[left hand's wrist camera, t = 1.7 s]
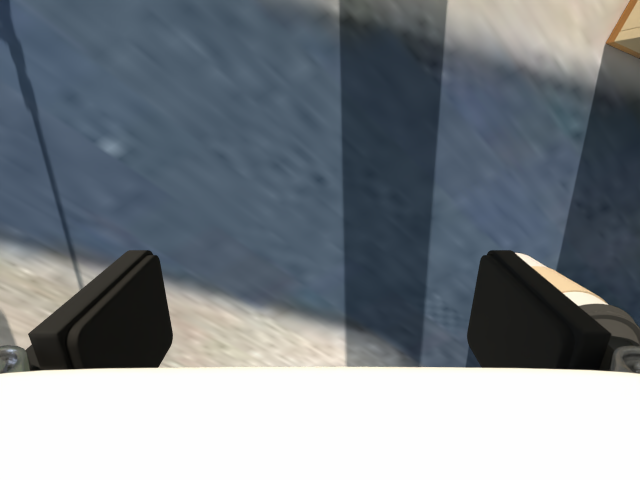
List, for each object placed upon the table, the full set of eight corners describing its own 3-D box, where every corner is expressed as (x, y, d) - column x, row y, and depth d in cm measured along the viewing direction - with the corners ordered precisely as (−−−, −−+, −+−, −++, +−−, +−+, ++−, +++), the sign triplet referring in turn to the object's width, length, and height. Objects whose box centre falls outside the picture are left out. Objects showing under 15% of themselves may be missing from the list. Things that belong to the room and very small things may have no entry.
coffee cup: (524, 322, 45) (618, 426, 31) (456, 301, 43) (520, 400, 30) (565, 257, 41) (690, 340, 27) (493, 233, 40) (585, 307, 26)
